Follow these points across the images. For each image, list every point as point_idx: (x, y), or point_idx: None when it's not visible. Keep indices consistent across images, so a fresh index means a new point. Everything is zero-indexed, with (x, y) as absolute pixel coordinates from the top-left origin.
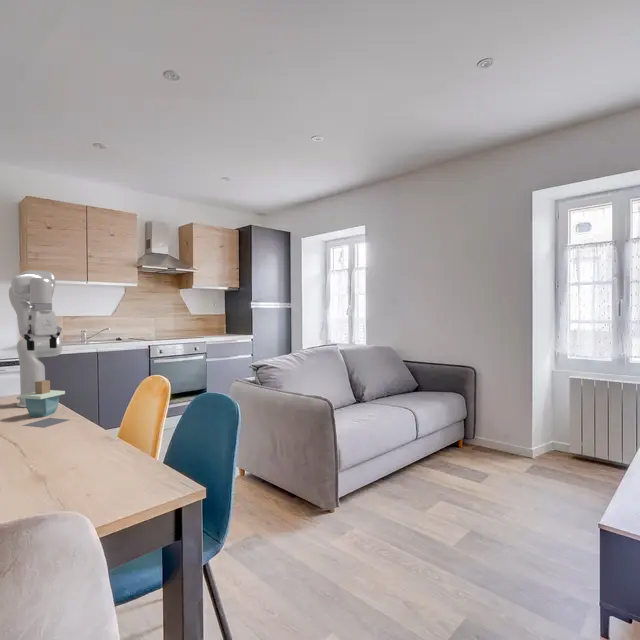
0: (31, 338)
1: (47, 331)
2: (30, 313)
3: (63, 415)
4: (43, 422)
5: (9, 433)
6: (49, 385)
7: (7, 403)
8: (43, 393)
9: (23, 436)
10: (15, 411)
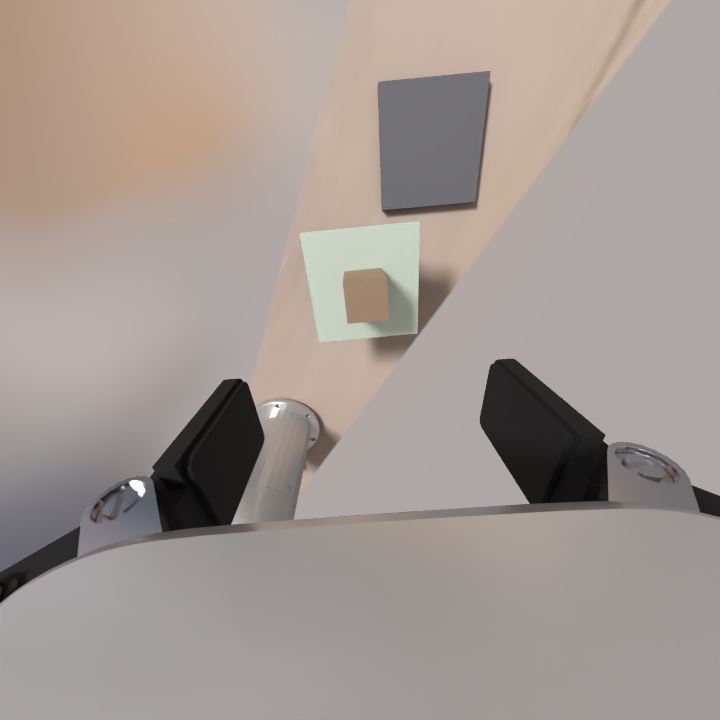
0: (643, 484)
1: (379, 660)
2: None
3: (323, 226)
4: (434, 161)
5: (526, 176)
6: (346, 276)
7: (308, 476)
8: (374, 269)
9: (557, 75)
10: (347, 398)
